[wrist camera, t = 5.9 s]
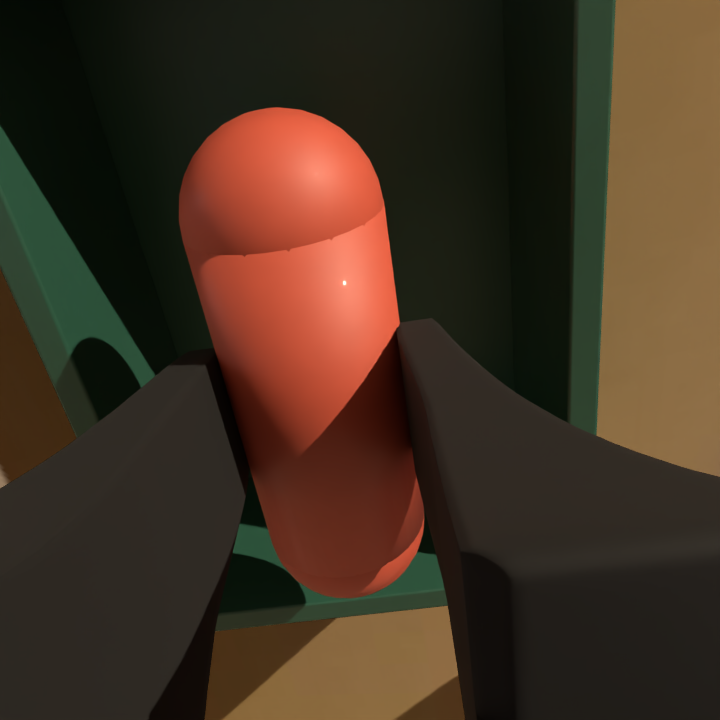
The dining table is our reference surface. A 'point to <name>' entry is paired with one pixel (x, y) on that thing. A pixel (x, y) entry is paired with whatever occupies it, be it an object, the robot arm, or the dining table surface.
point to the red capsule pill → (308, 342)
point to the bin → (391, 164)
